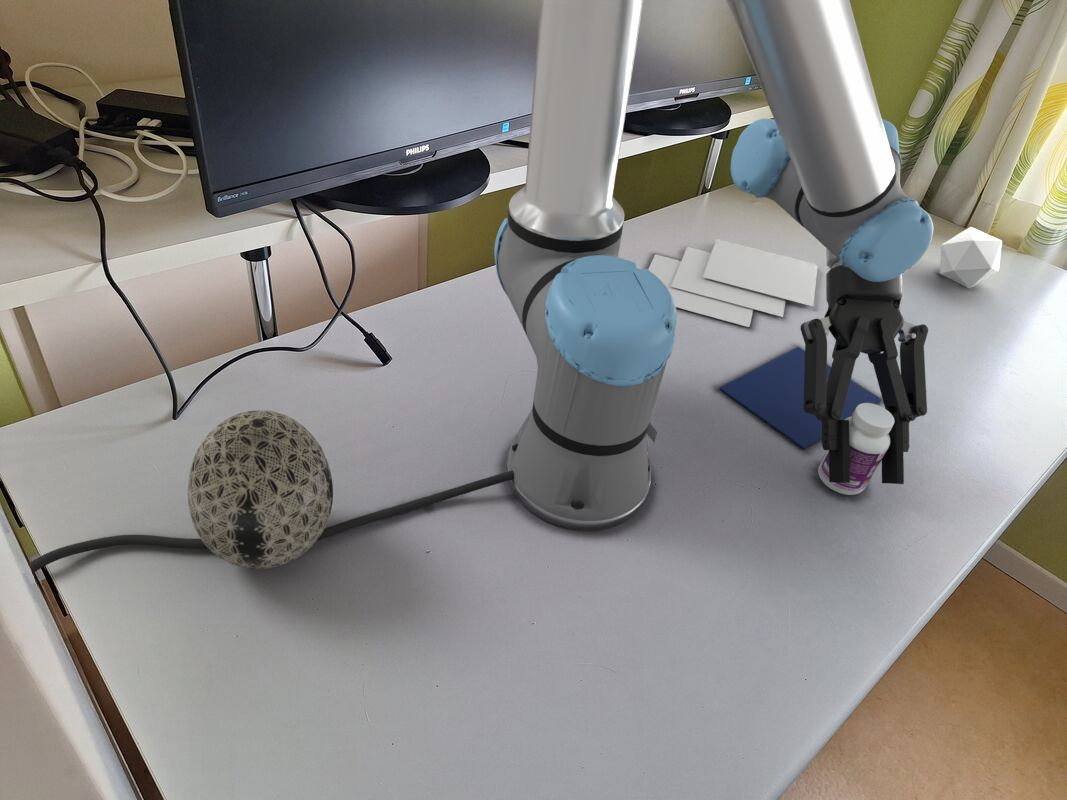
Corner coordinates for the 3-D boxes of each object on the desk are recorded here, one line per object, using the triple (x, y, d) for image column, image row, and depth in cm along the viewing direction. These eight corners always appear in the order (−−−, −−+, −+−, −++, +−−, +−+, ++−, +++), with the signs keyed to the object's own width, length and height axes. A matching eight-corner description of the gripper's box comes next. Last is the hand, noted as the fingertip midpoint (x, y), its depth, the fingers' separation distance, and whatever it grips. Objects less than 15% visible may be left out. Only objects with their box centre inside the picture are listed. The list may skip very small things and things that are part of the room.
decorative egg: (220, 496, 74) (193, 374, 64) (344, 499, 75) (336, 381, 65) (186, 598, 65) (149, 475, 55) (327, 599, 66) (315, 479, 57)
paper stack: (808, 343, 106) (810, 339, 105) (635, 296, 110) (636, 292, 110) (816, 268, 123) (817, 264, 123) (666, 229, 128) (667, 226, 127)
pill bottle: (867, 501, 83) (905, 437, 77) (818, 490, 83) (852, 425, 77) (861, 468, 87) (897, 404, 81) (815, 457, 87) (847, 393, 81)
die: (995, 289, 127) (997, 228, 126) (1003, 285, 118) (1005, 220, 118) (938, 291, 130) (939, 232, 129) (941, 287, 122) (943, 224, 121)
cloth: (803, 449, 89) (804, 448, 88) (718, 389, 96) (719, 387, 96) (880, 400, 98) (881, 398, 98) (797, 348, 105) (798, 346, 105)
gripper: (918, 280, 87) (922, 483, 85) (767, 270, 85) (767, 480, 83) (964, 263, 80) (970, 485, 78) (800, 252, 77) (802, 482, 75)
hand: (866, 482), depth 80 cm, fingers closed on pill bottle, 5 cm apart
